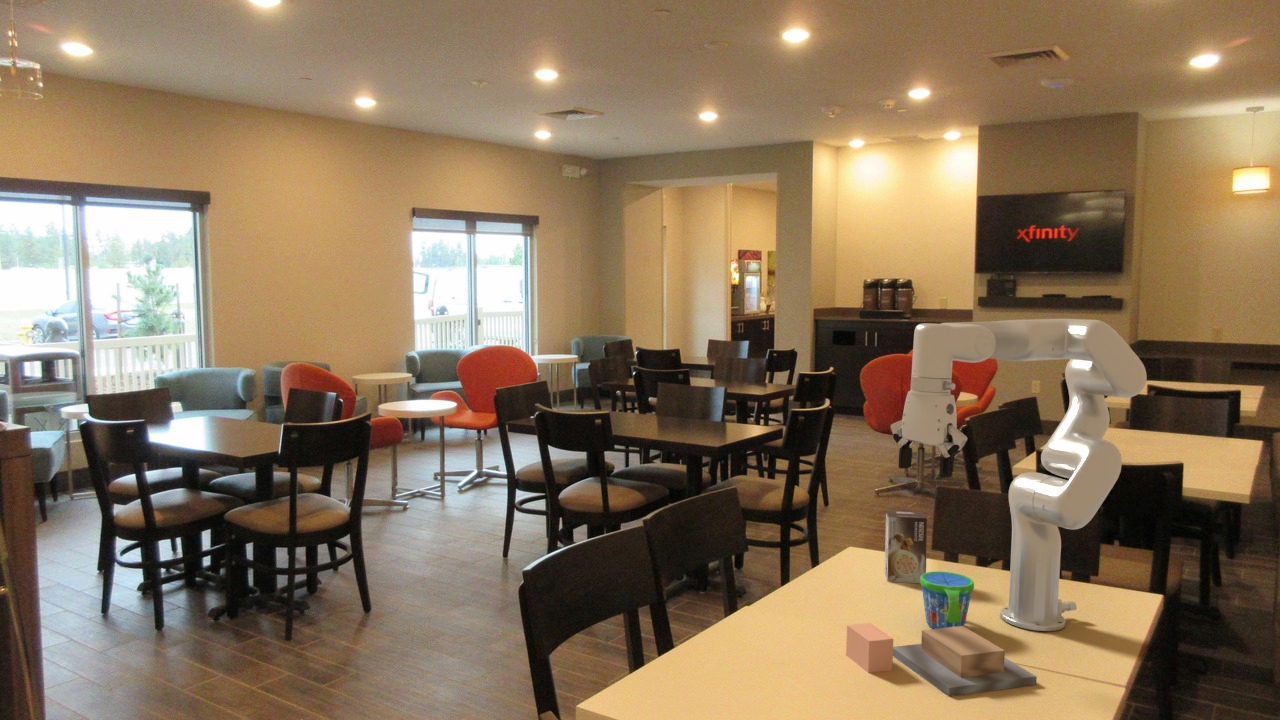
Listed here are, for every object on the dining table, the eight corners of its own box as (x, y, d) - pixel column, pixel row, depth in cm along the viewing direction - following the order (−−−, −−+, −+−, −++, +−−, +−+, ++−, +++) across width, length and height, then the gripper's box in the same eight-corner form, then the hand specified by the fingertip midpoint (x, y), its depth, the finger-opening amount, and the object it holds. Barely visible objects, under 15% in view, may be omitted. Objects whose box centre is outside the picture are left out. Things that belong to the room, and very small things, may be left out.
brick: (869, 653, 170) (870, 622, 170) (892, 670, 162) (893, 638, 162) (846, 655, 169) (847, 625, 168) (868, 673, 161) (869, 641, 161)
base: (971, 645, 174) (972, 618, 174) (1036, 684, 157) (1037, 654, 157) (891, 654, 169) (892, 626, 169) (948, 696, 152) (950, 665, 152)
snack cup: (916, 610, 193) (918, 565, 192) (967, 615, 190) (969, 569, 190) (920, 637, 178) (922, 588, 177) (976, 643, 175) (978, 593, 174)
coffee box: (922, 576, 217) (924, 511, 215) (926, 584, 210) (928, 518, 209) (883, 573, 218) (885, 509, 217) (886, 582, 212) (888, 516, 211)
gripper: (980, 390, 169) (974, 479, 170) (907, 381, 183) (901, 463, 184) (956, 391, 165) (950, 482, 166) (883, 382, 179) (877, 465, 180)
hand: (924, 472), depth 175 cm, fingers open, 9 cm apart
